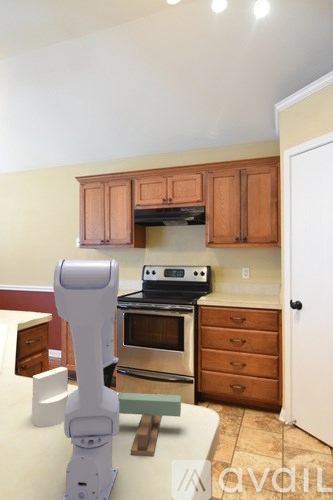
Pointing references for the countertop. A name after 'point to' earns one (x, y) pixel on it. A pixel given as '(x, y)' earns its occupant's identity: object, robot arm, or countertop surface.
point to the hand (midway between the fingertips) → (101, 396)
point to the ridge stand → (146, 435)
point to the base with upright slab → (49, 397)
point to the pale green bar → (149, 404)
